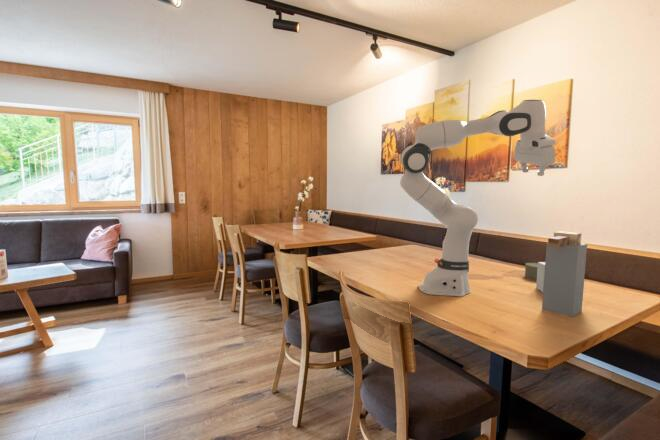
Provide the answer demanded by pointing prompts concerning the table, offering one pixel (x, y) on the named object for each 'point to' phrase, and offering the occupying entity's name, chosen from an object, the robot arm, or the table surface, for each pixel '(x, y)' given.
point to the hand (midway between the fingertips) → (532, 173)
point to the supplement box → (540, 276)
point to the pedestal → (564, 279)
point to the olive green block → (531, 270)
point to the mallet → (564, 239)
